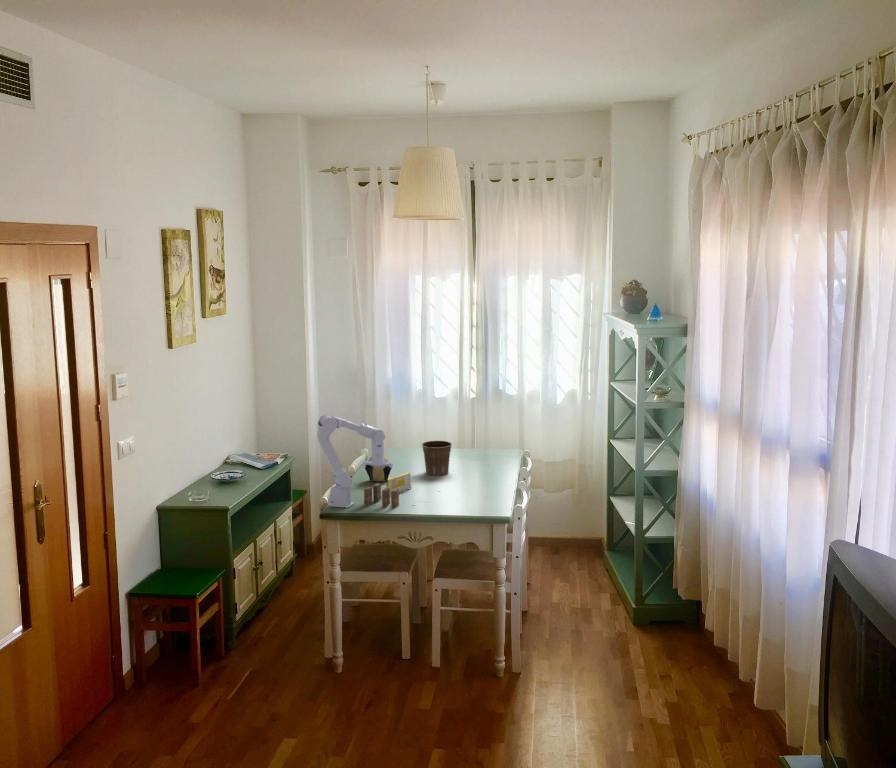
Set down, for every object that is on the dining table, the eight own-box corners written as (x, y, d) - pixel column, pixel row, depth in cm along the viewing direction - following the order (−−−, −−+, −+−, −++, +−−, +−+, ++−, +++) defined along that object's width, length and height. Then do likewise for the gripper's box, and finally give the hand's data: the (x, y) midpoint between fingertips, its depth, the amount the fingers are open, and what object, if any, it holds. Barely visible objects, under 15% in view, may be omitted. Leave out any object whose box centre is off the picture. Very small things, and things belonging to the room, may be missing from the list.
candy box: (408, 488, 436) (407, 472, 435) (411, 488, 435) (411, 473, 434) (386, 495, 424) (385, 479, 423) (389, 496, 423) (389, 479, 421)
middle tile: (382, 507, 404) (381, 490, 403) (386, 504, 409) (385, 487, 408) (386, 507, 404) (386, 490, 402) (390, 504, 408) (389, 488, 407)
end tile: (364, 505, 407) (363, 489, 405) (368, 502, 411) (367, 486, 410) (368, 506, 406) (367, 489, 405) (372, 503, 411) (371, 486, 410)
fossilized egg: (381, 485, 442) (380, 457, 439) (361, 482, 448) (360, 454, 446) (395, 479, 452) (395, 452, 450) (376, 476, 459) (375, 449, 457)
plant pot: (451, 476, 457) (451, 447, 455) (421, 477, 458) (420, 447, 455) (452, 469, 473) (452, 440, 471) (423, 469, 474) (422, 440, 471)
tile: (373, 502, 413) (373, 485, 411) (377, 499, 417) (376, 483, 416) (377, 502, 412) (377, 486, 411) (381, 499, 417) (380, 483, 416)
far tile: (391, 507, 403) (391, 491, 402) (395, 504, 408) (394, 488, 406) (395, 508, 402) (395, 491, 401) (399, 505, 407) (398, 488, 406)
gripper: (395, 452, 413) (395, 480, 415) (367, 450, 418) (368, 478, 420) (389, 455, 406) (390, 483, 408) (361, 454, 411) (362, 481, 413)
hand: (378, 481), depth 414 cm, fingers open, 7 cm apart
